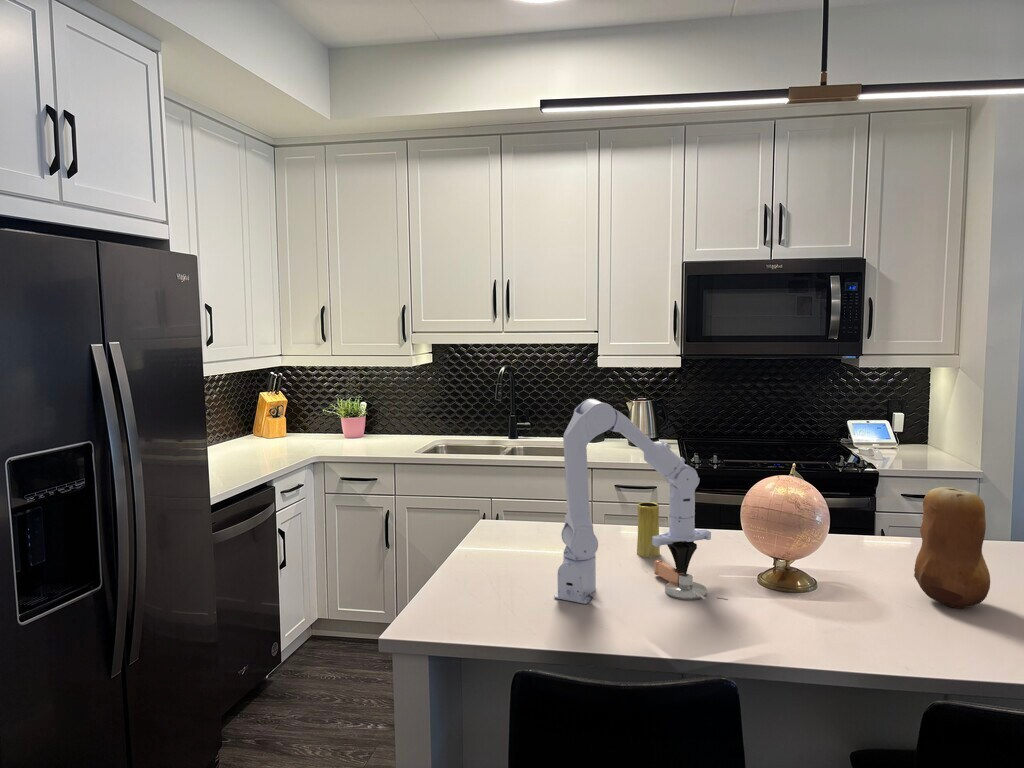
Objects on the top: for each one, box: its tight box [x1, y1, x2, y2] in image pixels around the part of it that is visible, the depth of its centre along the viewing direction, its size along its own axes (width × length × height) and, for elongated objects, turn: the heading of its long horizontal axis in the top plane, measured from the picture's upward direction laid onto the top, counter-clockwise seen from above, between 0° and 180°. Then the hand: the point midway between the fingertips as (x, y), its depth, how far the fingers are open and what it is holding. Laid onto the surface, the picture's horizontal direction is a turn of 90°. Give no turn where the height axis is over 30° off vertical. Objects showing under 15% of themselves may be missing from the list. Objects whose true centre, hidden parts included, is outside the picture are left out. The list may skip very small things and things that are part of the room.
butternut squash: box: [913, 486, 991, 610], centre depth 155 cm, size 14×13×25 cm
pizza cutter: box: [653, 559, 708, 601], centre depth 164 cm, size 19×9×4 cm, turn 21°
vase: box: [636, 501, 661, 558], centre depth 188 cm, size 6×6×14 cm
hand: (681, 572), depth 169 cm, fingers closed
